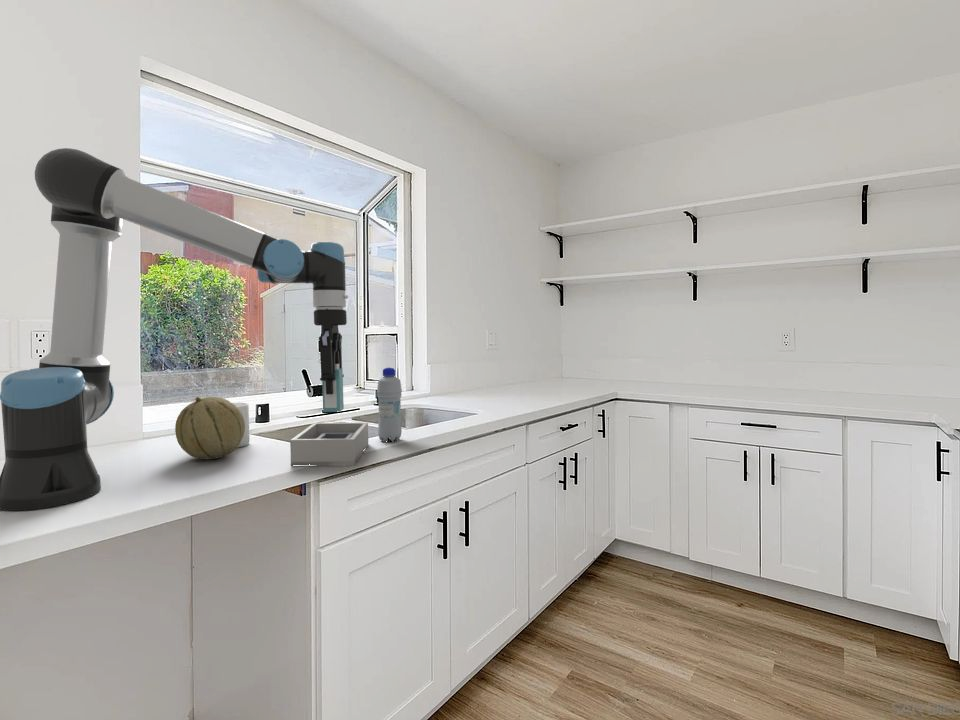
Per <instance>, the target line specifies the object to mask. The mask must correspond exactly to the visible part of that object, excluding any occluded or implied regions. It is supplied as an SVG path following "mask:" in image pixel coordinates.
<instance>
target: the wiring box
mask: <svg viewBox="0 0 960 720" xmlns="http://www.w3.org/2000/svg"><path fill="white" fill-rule="evenodd" d="M289 443H290V445H289V446H290V449H289V450H290V467H291V466H293V465H309V464H310V465H317V466H316V467H350V466H351V467H353V466H355V465H356V464H357V463H358V461H359V460H360V458H361V456H362V455H363V454H362V452H363V450H364V449H365V448H366V447H367V448H368V446H369V422H313V423H312V424H311V425H309V426H308V427H307V428H304V429H303V430H302V431H301V432H299V433H298V434H296V435H295V436H293V438H291V439H290V441H289ZM367 445H368V446H367ZM367 448H366V449H367ZM366 449H365V450H366ZM363 453H364V452H363ZM361 454H362V455H361Z"/></svg>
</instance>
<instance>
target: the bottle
mask: <svg viewBox="0 0 960 720" xmlns="http://www.w3.org/2000/svg"><path fill="white" fill-rule="evenodd" d="M376 392H377V393H376V394H377V396H376V397H377V398H378V429H377V433H378V438H379V440H380V441H381V442H385V441H387V442H388V441H389V439H390V442H391V441H393V442H395V441H396V440H398V441H400V439H401V436H402V431H403V430H402V421H401V420H402V419H401V418H402V417H401V414H402V413H401V410H402V409H401V398H402V396H403V395H402V392H403V390H402V383H401V379H400V378H398V377H396V369H395V368H392V367H385V368H383V369H382V377H381V378H379V379H378V380H377V390H376ZM388 438H389V439H388ZM383 440H384V441H383Z"/></svg>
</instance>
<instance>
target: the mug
mask: <svg viewBox="0 0 960 720" xmlns="http://www.w3.org/2000/svg"><path fill="white" fill-rule="evenodd" d="M231 403H232V404H234V405H235V406H236V407H237V408H238V409H239V411H240V412H241V414H242V415H243V418H244V422H245V431H244V436H243V438H242V440H241V442H240V443H239V445H238V446H237V448H236V449H239V448H243V447H246V446H248V445H249V443H250V442H251V441H250V440H251V439H250V437H251V436H250V435H251V434H250V412H249V411H250V406H249V403H247V402H231Z"/></svg>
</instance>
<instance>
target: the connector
mask: <svg viewBox="0 0 960 720" xmlns="http://www.w3.org/2000/svg"><path fill="white" fill-rule="evenodd" d="M343 374H344V372H343V367H342V368H339V364H335V380H336V390H337V408H325V399H324V381H321V385H322V386H321V387H322V389H321V391H322V411H323V413H332V412H333V413H335V412H342V411H343V410H344V409H345V408H344V379H343V378H344V377H343Z"/></svg>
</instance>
